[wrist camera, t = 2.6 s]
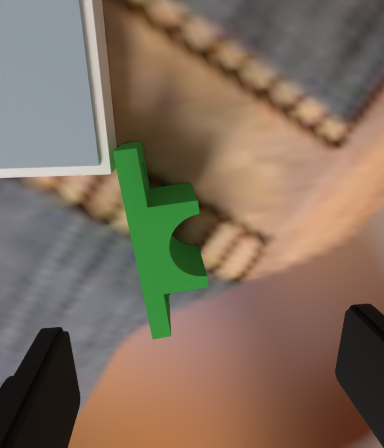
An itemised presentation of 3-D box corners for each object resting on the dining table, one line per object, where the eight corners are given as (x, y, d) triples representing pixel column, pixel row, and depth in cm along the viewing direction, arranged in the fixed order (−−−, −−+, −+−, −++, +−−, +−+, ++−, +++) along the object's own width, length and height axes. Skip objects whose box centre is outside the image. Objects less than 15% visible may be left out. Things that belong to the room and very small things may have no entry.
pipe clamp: (203, 288, 22) (213, 329, 18) (154, 296, 22) (152, 340, 18) (183, 133, 18) (191, 140, 14) (123, 142, 18) (111, 151, 14)
